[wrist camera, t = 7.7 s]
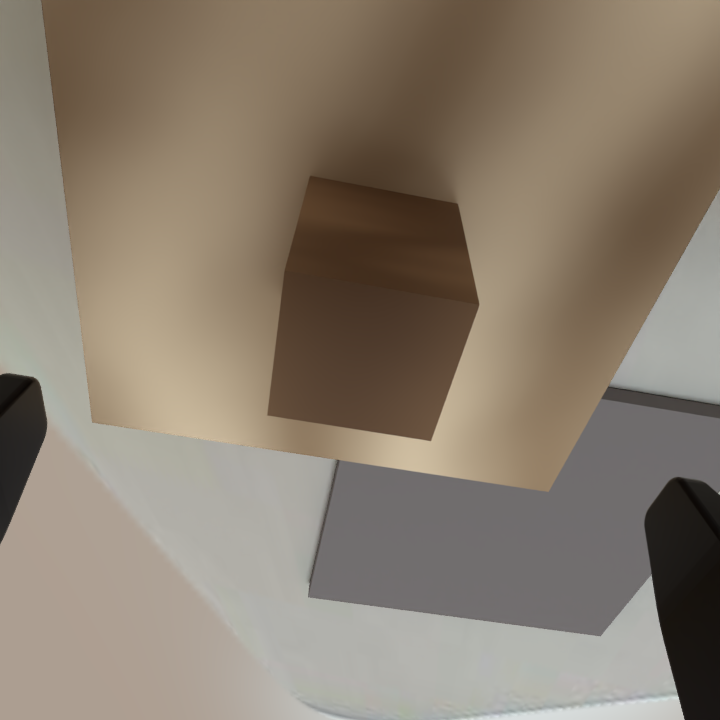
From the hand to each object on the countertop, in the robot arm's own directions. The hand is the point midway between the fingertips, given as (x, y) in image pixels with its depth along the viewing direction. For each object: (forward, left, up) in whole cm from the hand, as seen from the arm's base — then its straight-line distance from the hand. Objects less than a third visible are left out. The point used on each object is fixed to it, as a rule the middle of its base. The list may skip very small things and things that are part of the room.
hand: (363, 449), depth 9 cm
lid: (0, 0, -7) cm, 7 cm away
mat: (-9, +15, -12) cm, 22 cm away
